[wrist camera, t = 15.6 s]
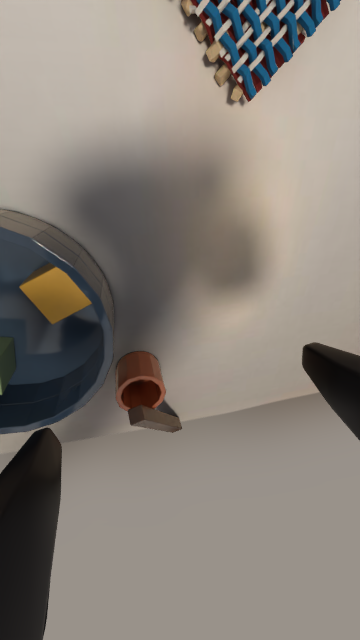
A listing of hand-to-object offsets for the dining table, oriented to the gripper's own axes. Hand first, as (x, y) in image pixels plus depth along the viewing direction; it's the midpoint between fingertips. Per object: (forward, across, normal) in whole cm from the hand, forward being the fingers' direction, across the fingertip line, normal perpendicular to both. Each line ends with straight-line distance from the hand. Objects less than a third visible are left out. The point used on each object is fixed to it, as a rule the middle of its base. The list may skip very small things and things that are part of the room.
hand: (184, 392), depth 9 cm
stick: (+8, +4, +8) cm, 12 cm away
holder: (+13, +3, +8) cm, 16 cm away
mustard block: (+12, +6, -2) cm, 14 cm away
